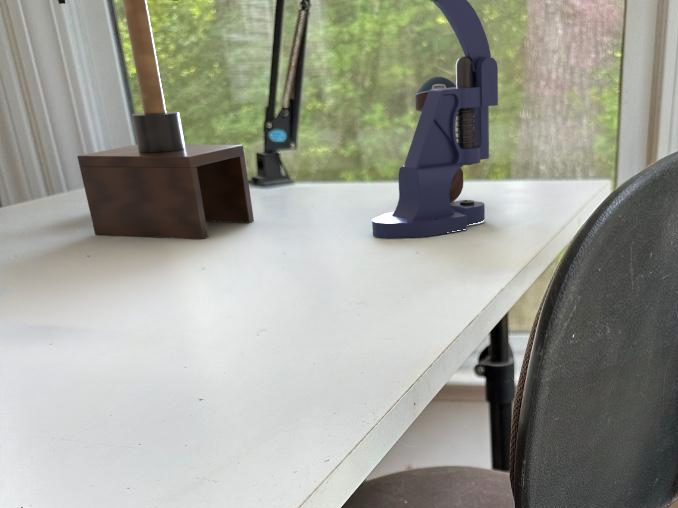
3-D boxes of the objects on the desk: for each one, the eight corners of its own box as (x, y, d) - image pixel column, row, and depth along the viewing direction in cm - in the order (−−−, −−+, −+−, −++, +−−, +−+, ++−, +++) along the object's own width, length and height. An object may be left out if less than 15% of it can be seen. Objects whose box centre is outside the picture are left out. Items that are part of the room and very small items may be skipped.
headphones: (419, 183, 134) (419, 225, 117) (414, 66, 125) (413, 93, 107) (461, 181, 134) (466, 224, 117) (459, 65, 125) (465, 92, 107)
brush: (129, 152, 109) (97, -6, 101) (156, 147, 114) (128, -5, 105) (167, 152, 108) (138, -8, 99) (194, 147, 112) (168, -7, 103)
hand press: (469, 214, 117) (464, -51, 102) (511, 222, 111) (512, -58, 96) (343, 234, 108) (317, -53, 93) (380, 244, 102) (359, -61, 87)
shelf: (95, 234, 113) (76, 155, 108) (152, 217, 123) (138, 144, 118) (203, 239, 108) (188, 156, 103) (254, 221, 118) (243, 144, 113)
